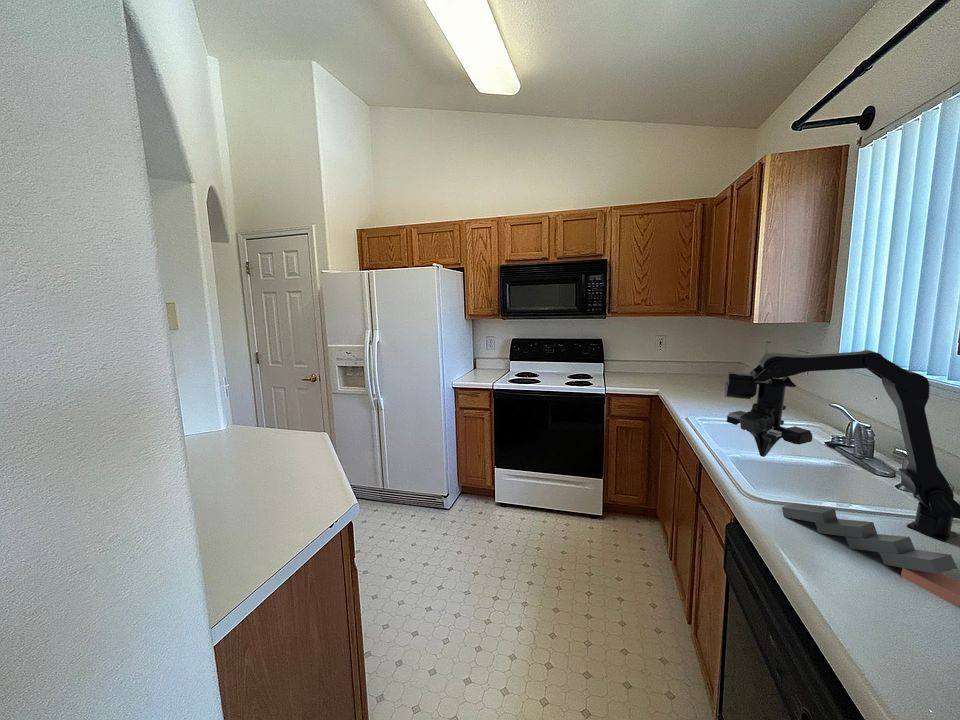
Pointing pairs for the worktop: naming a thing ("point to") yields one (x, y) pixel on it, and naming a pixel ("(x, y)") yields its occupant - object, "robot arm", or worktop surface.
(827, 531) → the domino
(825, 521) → the domino
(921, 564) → the domino
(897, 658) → the worktop surface
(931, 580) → the red domino
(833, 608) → the worktop surface
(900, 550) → the domino
